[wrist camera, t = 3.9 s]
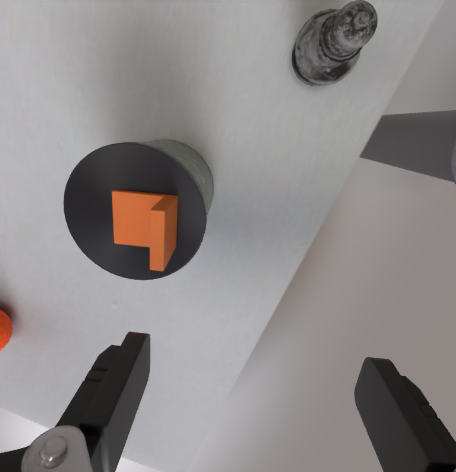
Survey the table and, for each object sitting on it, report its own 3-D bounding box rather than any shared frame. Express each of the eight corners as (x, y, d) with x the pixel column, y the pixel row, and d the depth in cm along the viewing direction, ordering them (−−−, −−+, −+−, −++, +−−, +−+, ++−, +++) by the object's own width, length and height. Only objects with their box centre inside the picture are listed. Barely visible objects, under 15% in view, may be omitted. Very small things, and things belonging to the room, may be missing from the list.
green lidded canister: (220, 142, 33) (210, 151, 22) (212, 237, 37) (200, 286, 26) (117, 131, 33) (55, 135, 22) (121, 228, 37) (70, 273, 26)
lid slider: (178, 195, 23) (165, 211, 19) (176, 247, 25) (163, 271, 20) (114, 189, 23) (87, 203, 19) (116, 241, 25) (92, 264, 20)
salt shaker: (308, 10, 28) (354, -65, 17) (359, 41, 29) (435, -11, 18) (278, 72, 30) (301, 41, 19) (326, 99, 31) (376, 85, 20)
